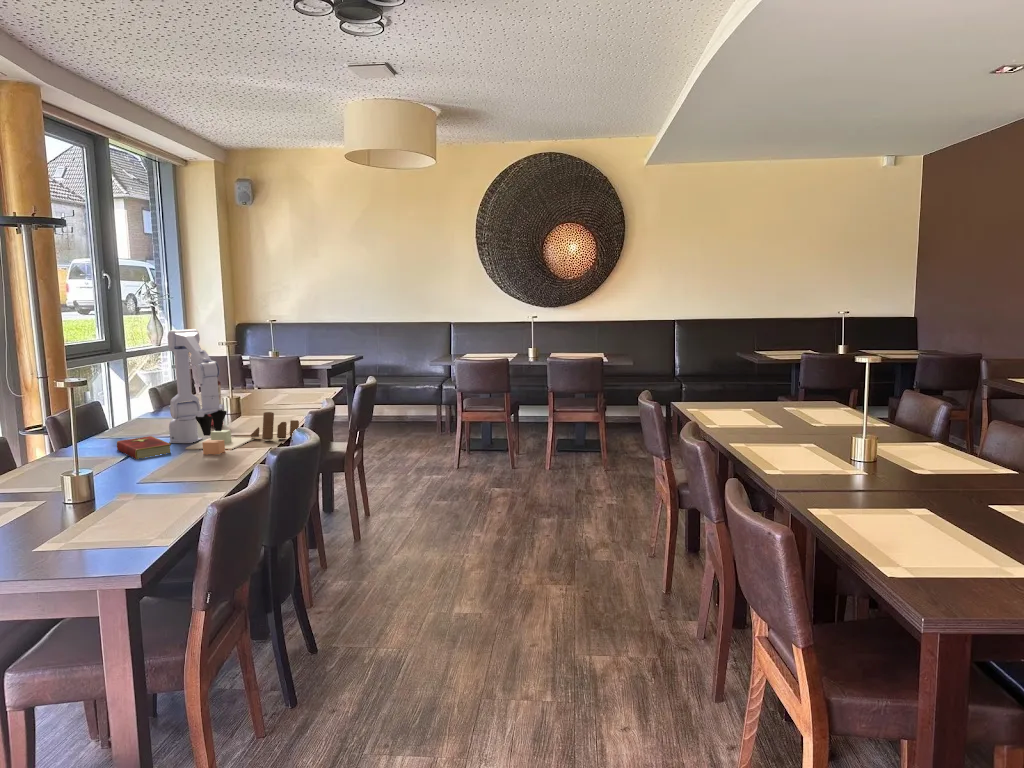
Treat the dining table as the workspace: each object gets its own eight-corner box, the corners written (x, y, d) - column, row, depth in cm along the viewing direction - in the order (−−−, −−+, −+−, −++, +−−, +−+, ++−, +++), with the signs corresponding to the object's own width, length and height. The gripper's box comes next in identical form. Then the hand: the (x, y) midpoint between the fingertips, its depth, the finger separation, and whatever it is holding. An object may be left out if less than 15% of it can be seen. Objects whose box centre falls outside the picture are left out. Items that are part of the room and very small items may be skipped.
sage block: (211, 443, 262) (210, 432, 261) (216, 441, 266) (216, 429, 265) (226, 443, 261) (225, 432, 261) (231, 441, 265) (230, 429, 265)
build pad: (185, 449, 256) (185, 447, 256) (211, 438, 274) (211, 437, 273) (231, 449, 254) (231, 448, 254) (255, 439, 272) (255, 437, 271)
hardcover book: (136, 460, 241) (135, 449, 241) (117, 451, 256) (116, 440, 255) (172, 454, 250) (171, 443, 249) (151, 446, 264) (150, 435, 264)
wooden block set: (298, 441, 276) (299, 415, 278) (297, 438, 268) (298, 412, 270) (250, 441, 272) (252, 415, 274) (247, 438, 263) (249, 411, 266)
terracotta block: (203, 454, 248) (202, 442, 247) (209, 452, 252) (208, 439, 251) (219, 454, 247) (218, 442, 246) (225, 452, 251) (224, 440, 250)
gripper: (209, 399, 239) (212, 437, 241) (230, 392, 253) (233, 429, 255) (190, 399, 240) (193, 437, 242) (212, 392, 254) (215, 428, 256)
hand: (212, 433), depth 248 cm, fingers open, 7 cm apart
